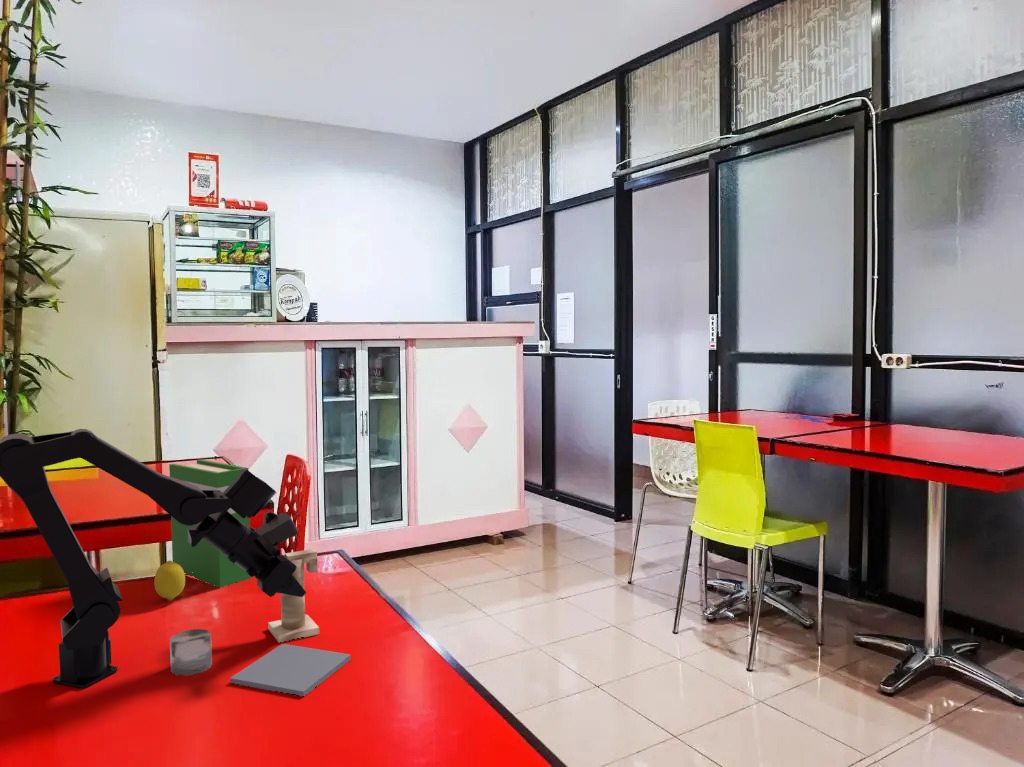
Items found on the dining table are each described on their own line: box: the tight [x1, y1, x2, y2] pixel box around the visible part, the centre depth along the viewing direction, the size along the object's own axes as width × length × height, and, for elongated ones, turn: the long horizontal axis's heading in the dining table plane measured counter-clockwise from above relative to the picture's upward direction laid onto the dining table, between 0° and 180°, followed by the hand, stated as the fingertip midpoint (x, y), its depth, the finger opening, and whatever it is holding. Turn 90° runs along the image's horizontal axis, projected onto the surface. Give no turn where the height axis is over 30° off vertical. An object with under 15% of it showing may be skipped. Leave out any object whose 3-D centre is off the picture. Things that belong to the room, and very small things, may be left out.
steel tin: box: [169, 628, 213, 677], centre depth 118 cm, size 6×6×5 cm
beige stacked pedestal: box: [267, 548, 320, 644], centre depth 132 cm, size 8×7×14 cm
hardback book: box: [169, 459, 252, 589], centre depth 162 cm, size 18×7×24 cm, turn 55°
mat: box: [229, 643, 352, 697], centre depth 117 cm, size 13×13×1 cm
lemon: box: [153, 560, 186, 602], centre depth 147 cm, size 6×6×8 cm
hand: (300, 590), depth 133 cm, fingers closed on beige stacked pedestal, 4 cm apart
